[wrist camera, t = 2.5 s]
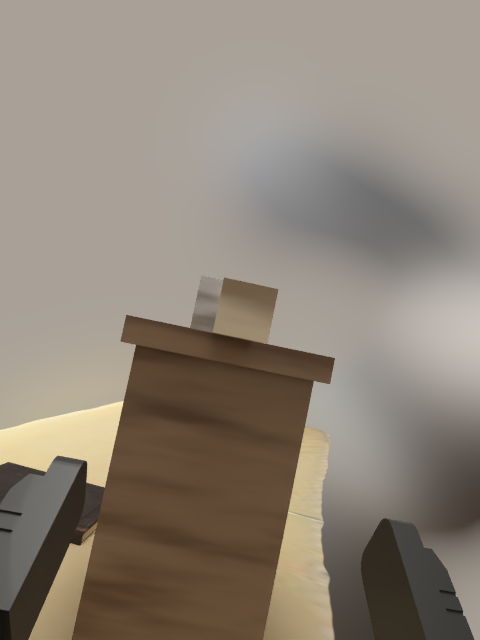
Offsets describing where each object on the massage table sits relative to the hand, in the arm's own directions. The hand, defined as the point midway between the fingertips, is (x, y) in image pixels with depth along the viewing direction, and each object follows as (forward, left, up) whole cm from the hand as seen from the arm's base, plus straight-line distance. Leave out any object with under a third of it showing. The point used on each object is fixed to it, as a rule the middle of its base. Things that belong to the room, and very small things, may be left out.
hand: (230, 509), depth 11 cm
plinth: (-16, +28, -27) cm, 42 cm away
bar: (-13, +23, +5) cm, 27 cm away
